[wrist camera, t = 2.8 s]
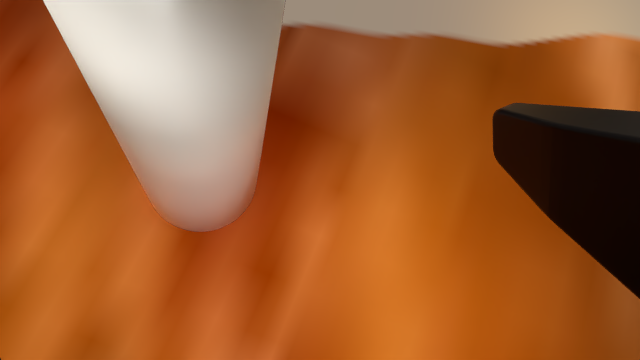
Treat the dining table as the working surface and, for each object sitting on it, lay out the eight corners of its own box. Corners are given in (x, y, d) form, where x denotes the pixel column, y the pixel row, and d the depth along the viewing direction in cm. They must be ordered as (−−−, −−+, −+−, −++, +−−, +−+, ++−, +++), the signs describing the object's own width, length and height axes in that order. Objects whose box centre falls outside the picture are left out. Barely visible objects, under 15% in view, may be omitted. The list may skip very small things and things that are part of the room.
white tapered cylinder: (198, 255, 20) (139, 68, 7) (121, 176, 21) (-77, -144, 7) (278, 179, 21) (359, -102, 8) (204, 107, 22) (165, -276, 8)
